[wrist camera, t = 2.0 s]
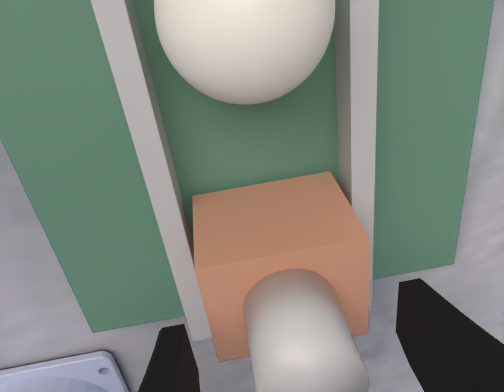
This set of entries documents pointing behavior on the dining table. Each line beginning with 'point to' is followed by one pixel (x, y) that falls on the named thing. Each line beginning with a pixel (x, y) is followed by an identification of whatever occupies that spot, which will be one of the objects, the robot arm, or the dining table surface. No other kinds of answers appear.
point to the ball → (244, 44)
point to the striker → (285, 282)
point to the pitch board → (231, 140)
